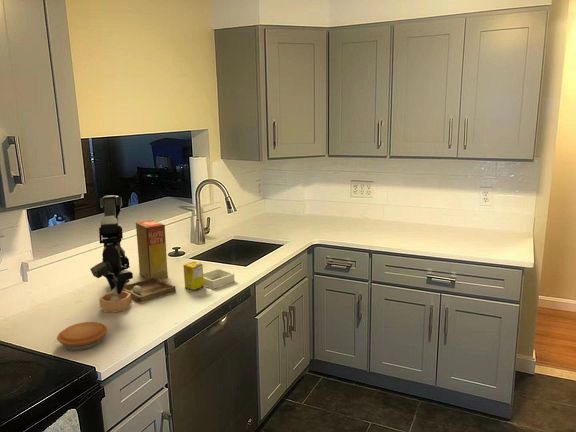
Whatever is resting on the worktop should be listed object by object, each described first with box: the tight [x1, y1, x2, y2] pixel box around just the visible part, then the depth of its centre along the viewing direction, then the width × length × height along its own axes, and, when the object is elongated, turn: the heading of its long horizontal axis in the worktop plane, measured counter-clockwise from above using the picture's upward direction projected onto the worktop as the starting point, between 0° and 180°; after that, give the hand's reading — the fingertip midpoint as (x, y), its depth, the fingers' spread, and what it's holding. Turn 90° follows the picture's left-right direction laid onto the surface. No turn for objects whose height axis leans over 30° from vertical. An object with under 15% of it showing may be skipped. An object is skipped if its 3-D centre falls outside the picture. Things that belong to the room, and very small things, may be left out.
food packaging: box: [135, 219, 169, 280], centre depth 220 cm, size 13×9×25 cm
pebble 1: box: [111, 287, 122, 296], centre depth 188 cm, size 4×4×4 cm
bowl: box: [98, 291, 133, 313], centre depth 187 cm, size 11×11×4 cm
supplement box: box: [183, 261, 205, 292], centre depth 205 cm, size 6×6×11 cm
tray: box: [122, 277, 176, 304], centre depth 202 cm, size 17×16×2 cm
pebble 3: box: [133, 286, 142, 294], centre depth 198 cm, size 4×4×4 cm
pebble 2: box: [110, 296, 120, 301], centre depth 187 cm, size 4×4×4 cm
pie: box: [56, 321, 108, 351], centre depth 159 cm, size 15×16×5 cm
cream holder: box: [203, 268, 236, 290], centre depth 213 cm, size 12×13×4 cm
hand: (116, 292), depth 188 cm, fingers open, 5 cm apart
